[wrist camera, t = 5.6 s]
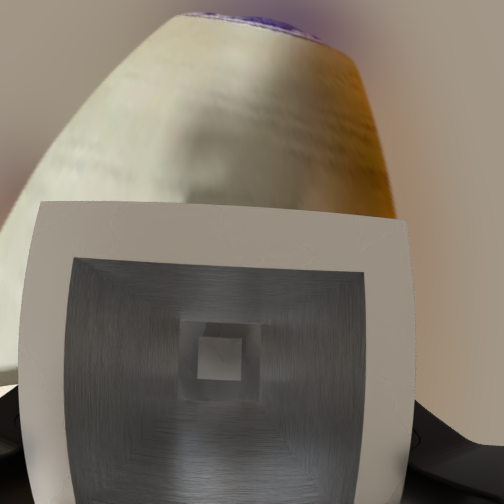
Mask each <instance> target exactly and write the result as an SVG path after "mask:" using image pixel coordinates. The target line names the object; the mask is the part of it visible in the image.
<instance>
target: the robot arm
mask: <svg viewBox="0 0 504 504" xmlns="http://www.w3.org/2000/svg"><path fill="white" fill-rule="evenodd" d="M0 504H35V502H34V498H33V494H32V490H31V485H30V481H29V476H28V471H27V466H26V460H25V454H24V447H23V440H22V431H21V422H20V409H19V392H18V385H17V386H15V387H14V388H13V389H11V390H10V391H9V392H7V393H6V394H4V395H3V396H2V397H0ZM400 504H504V446H493V445H482V444H477V443H475V442H472V441H470V440H468V439H466V438H465V437H463V436H462V435H460V434H459V433H458V432H456V431H455V430H454V429H452V428H451V427H449V426H448V425H446V424H445V423H444V422H443V421H441V420H440V419H438V418H437V417H436V416H434V415H433V414H432V413H431V412H429V411H428V410H427V409H425V408H424V407H423V406H422V405H421V404H419V403H418V402H417V401H416V400H414V414H413V425H412V434H411V443H410V450H409V457H408V464H407V470H406V476H405V481H404V487H403V492H402V497H401V501H400Z"/></svg>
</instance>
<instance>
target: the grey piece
mask: <svg viewBox="0 0 504 504" xmlns="http://www.w3.org/2000/svg"><path fill="white" fill-rule="evenodd" d="M260 346H261V324H240V323H217V322H199V321H183V320H180V334H179V359H178V399H183V400H197V401H214V402H247V403H259V385H260Z"/></svg>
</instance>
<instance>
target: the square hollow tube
mask: <svg viewBox="0 0 504 504" xmlns="http://www.w3.org/2000/svg"><path fill="white" fill-rule="evenodd" d="M414 299H415V298H414V284H413V272H412V262H411V253H410V244H409V238H408V230H407V223H406V220H397V219H389V218H380V217H370V216H360V215H350V214H340V213H329V212H318V211H306V210H293V209H280V208H265V207H250V206H233V205H214V204H192V203H165V202H123V201H45V202H41V204H40V207H39V211H38V215H37V219H36V223H35V227H34V232H33V236H32V241H31V246H30V251H29V256H28V262H27V268H26V274H25V280H24V288H23V295H22V304H21V314H20V327H19V345H18V392H19V409H20V422H21V431H22V440H23V447H24V454H25V460H26V466H27V471H28V476H29V481H30V485H31V490H32V494H33V498H34V502H35V504H400V501H401V497H402V492H403V487H404V481H405V476H406V470H407V464H408V457H409V450H410V443H411V434H412V425H413V414H414V400H415V380H416V319H415V318H416V317H415V300H414ZM180 320H183V321H199V322H217V323H240V324H261V346H260V385H259V403H247V402H214V401H197V400H183V399H178V359H179V334H180Z"/></svg>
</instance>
